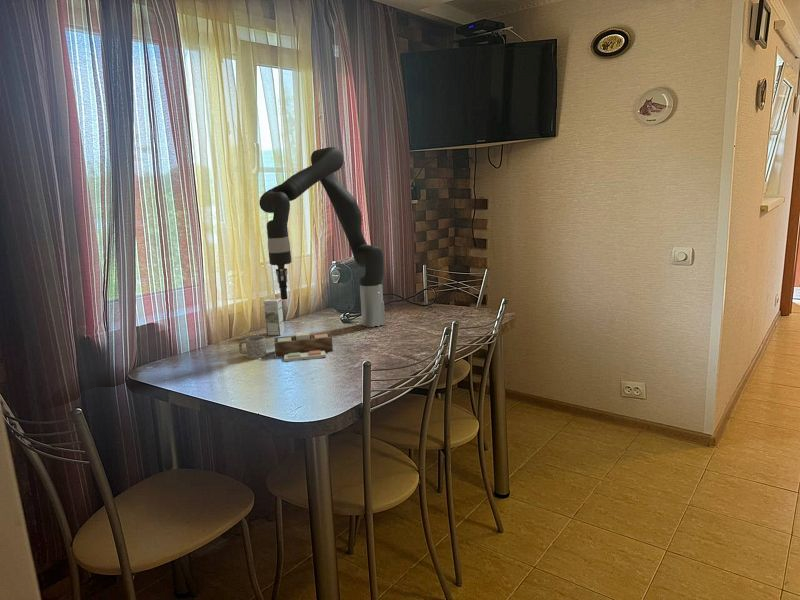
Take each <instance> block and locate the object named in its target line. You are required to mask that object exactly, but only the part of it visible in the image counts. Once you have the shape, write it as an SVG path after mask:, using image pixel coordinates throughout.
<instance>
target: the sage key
mask: <svg viewBox="0 0 800 600" xmlns="http://www.w3.org/2000/svg"><path fill="white" fill-rule="evenodd" d="M285 341H292V340H291V337H287V338H278V342H285Z"/></svg>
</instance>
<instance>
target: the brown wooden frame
mask: <svg viewBox="0 0 800 600" xmlns="http://www.w3.org/2000/svg"><path fill="white" fill-rule="evenodd" d="M319 334H328V337H326V338H315V339H314V335H319ZM287 337H291V340H292V341H285V342H278V338H287ZM333 347H334V346H333V337H332V334H331V332H330V331H329V332H321V333H320V332H319V333H318V332H317V333H310V339H305V340H296V335H288V336H287V335H286V336H279V337H277V336H276V337H275V336H274V353H275V358H280V357H281V356H282V357H284V355H287V354H289V353H297V352H300V353H306V352H309V351H317V350H321V351H325V353H330V351H331V352H334V348H333ZM282 357H281V358H282Z"/></svg>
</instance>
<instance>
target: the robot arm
mask: <svg viewBox="0 0 800 600" xmlns="http://www.w3.org/2000/svg"><path fill="white" fill-rule="evenodd" d="M344 162H345V161H344V155H343V153H342V151H341V150H340V149H339V148H337V147H335V146H328V147H324V148H320V149H316V150H314V151H313V152H312V153H311V156H310V163H311V165H310V166H307V167H306V168H304V169H301V170H300V171H298V172H296V173H294V174H292V175H291V176H289V178H287V179H286V180H285V181H284V182H282V183H280V184H279V185H276V186H275V187H272V188H271V189H268V190H266V191H265V192H264V193H262V195H261V197H260V199H259V204H258V205H259V207H260V209H261V210H262V211H263V212H265V213H267V214H273V216H272V219H271V220H269V221H267V222H266V235H267V252H268V261H269V264H270V266H277V268H276V269H275V275H276V280H277V284H278V285H279V286H278V288H279V291H280V293H279V294H280V298H281V301H282V300H288V292H287V289H288V285H287V283H288V268H285V266H286V265H290V264H291V263H292V253H291V243H290V239H289V230H288V229H289V228H288V223H289V216H290V210H291V209H290V208H291V202H293V201H295V200H297V199H298V198H299V197H300V196H301V195H303V194H304V193H305V192H306V191H307V190H309V189H310V188H312V186H314V185H315V184H317V183H319V181H320V184H321V185H322V187H323V189H324V190H325V191H324V192H326V194H327V197H328V199H329V201H330V203H331V205H332V207H333V210H334V212H335V214H336V216H337V218H338V221H339V223H340V225H341V227H342V229H343V232H344V234H345V237H346V239H347V241H348V244H349V247H350V250H351V253H352V257H353V258H354V262H355V263H356V264H357V265H358V266H359V267H361V268H365V269H364V271H365V273H364V275H363V276H361V277H360V278H359V293H360V294H359V295H360V296H359V297H360V308H361V309H360V310H361V312H360V313H361V325H363V327H365V326H366V327H365V328H376V327H375V326H378V327H381V326H380V325H382V326H385V325H386V314H385V313H386V312H385V310H386V309H385V302H384V295H383V294H384V292H383V278H384V267H385V266H384V265H385V263H384V262H385V261H384V260H385V259H384V252H383V251H382V249H381V248H380V247H379V246H377V245H370V244H368V243H367V240H366V239H365V237H364V234H363V231H362V224H363V223H362V222H363V221H362V219H363V217H362V212H361V209H360V207H359V204H358V202H357V200H356V199H355V197H354V196H353V194H352V193H351V192H350V191H348V189H346V187H344V186H343V185H342V184H341V183H340V181H339V180H338V179H337V177H336V175H335V173H336V172H337V171H340V169H342V167H343V165H344Z"/></svg>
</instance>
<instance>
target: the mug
mask: <svg viewBox="0 0 800 600" xmlns="http://www.w3.org/2000/svg"><path fill="white" fill-rule="evenodd" d="M243 344H245V350H246V351H245V350H243V346H242V345H243ZM266 346H267V345H266V338H265V336H263V335H252V336H248V337H246V338H245V339H241V340H240V341H238V350H239V352H240V354H243V355H246V359H247V360H260V359H259V358H261V359H264V358H266V357H267V356H266V355H267V348H266ZM263 357H264V358H263Z"/></svg>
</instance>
